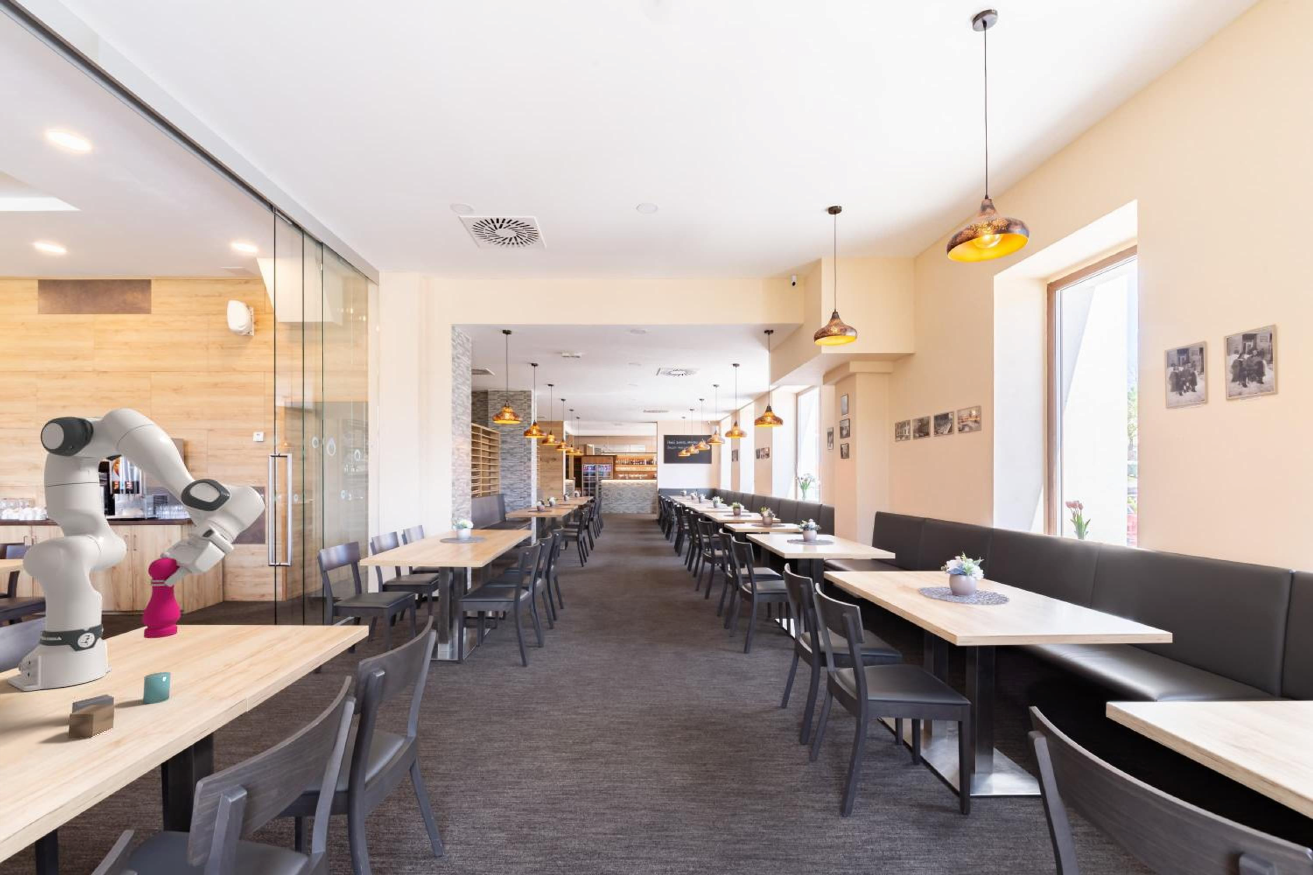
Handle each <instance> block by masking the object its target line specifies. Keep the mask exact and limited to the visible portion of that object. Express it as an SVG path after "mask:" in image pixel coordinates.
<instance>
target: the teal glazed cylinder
mask: <svg viewBox="0 0 1313 875" xmlns="http://www.w3.org/2000/svg"><path fill="white" fill-rule="evenodd" d="M171 675H172V674H171V672H169V671H168V672H167V671H163V672H156V673H155V672H154V673H151V674H148V675H146V676H144V680H143V696H142V697H143V698H142V703H143V704H144V705H153V704H158V703H162V702H165V701H167V700H169V699H170V693H171V692H170V690H171Z"/></svg>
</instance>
